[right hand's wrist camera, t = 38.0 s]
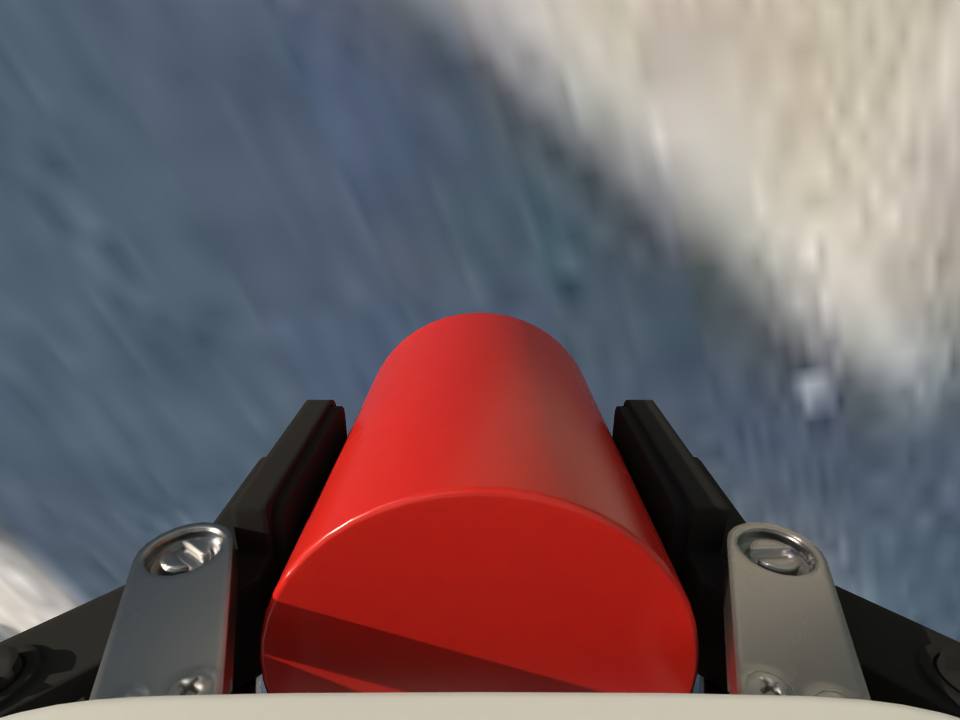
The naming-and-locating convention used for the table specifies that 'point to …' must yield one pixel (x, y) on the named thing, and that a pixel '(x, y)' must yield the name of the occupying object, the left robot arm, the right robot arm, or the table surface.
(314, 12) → the table surface
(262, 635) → the canister
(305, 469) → the right robot arm
